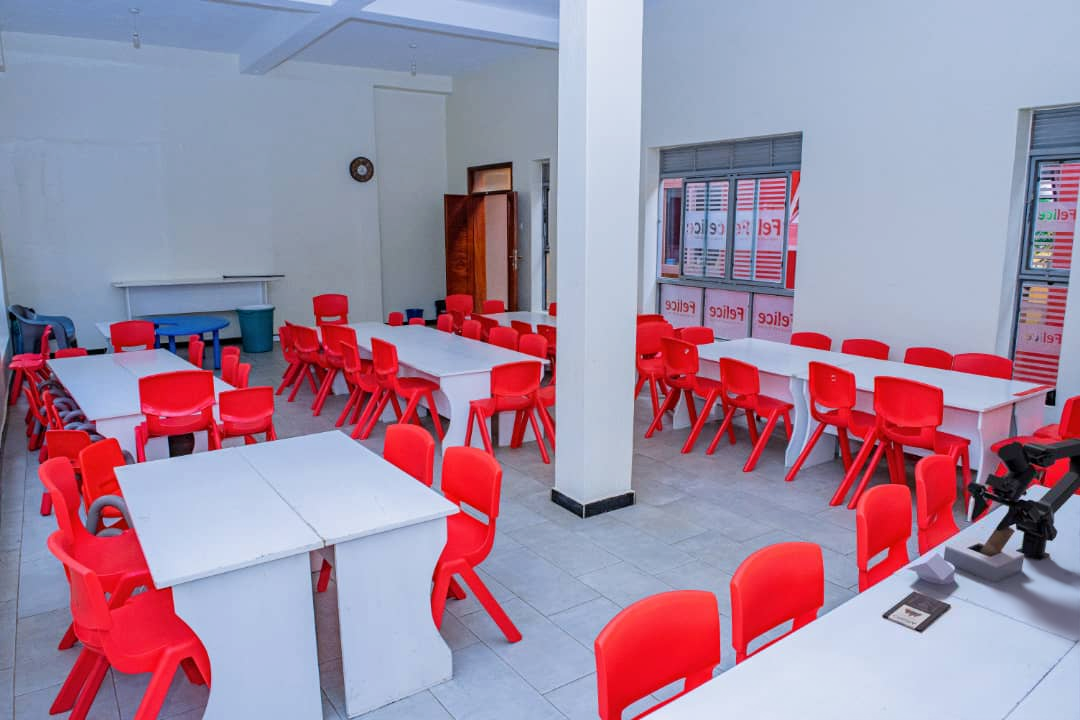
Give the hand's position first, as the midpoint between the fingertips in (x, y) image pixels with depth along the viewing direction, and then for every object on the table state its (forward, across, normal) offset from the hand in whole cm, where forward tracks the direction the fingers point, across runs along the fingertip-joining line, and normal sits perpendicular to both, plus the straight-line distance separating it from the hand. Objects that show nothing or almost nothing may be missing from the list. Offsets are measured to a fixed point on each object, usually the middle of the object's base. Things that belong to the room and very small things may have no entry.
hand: (984, 524), depth 210 cm
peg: (+7, 0, +9) cm, 11 cm away
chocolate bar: (+35, +11, -17) cm, 40 cm away
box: (+8, 0, +10) cm, 13 cm away
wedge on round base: (+22, 0, -4) cm, 22 cm away
